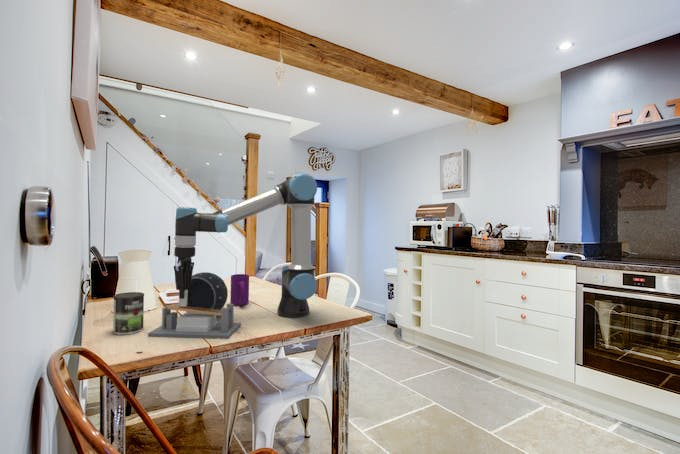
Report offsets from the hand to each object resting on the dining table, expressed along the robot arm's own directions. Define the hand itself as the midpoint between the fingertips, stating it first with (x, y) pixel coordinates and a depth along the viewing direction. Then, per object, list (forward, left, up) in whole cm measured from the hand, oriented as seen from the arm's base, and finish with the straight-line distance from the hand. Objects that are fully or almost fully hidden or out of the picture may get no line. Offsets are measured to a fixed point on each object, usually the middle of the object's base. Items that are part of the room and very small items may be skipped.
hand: (182, 306), depth 138 cm
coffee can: (+20, +2, -10) cm, 23 cm away
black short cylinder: (-1, -19, -10) cm, 22 cm away
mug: (-11, -41, -10) cm, 44 cm away
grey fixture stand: (-6, 0, -10) cm, 11 cm away
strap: (-7, 0, -2) cm, 7 cm away
